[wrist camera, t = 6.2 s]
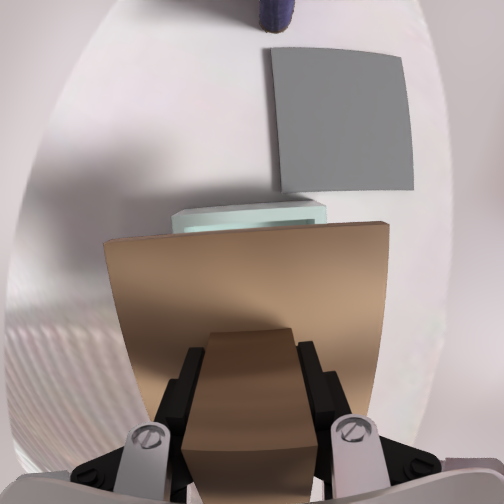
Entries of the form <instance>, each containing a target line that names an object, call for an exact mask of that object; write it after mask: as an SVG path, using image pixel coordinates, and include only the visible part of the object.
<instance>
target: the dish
mask: <svg viewBox="0 0 504 504" xmlns="http://www.w3.org/2000/svg"><path fill="white" fill-rule="evenodd" d="M171 222H172V230H173V234H176V233H189V232H202V231H215V230H229V229H244V228H259V227H275V226H291V225H309V224H327V210H326V205H323V204H321V203H319V202H317V201H315V200H309V201H288V202H270V203H254V204H240V205H226V206H214V207H202V208H190V209H184V210H182V211H180V212H178V213H176V214H174V215H173V216H171Z"/></svg>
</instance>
